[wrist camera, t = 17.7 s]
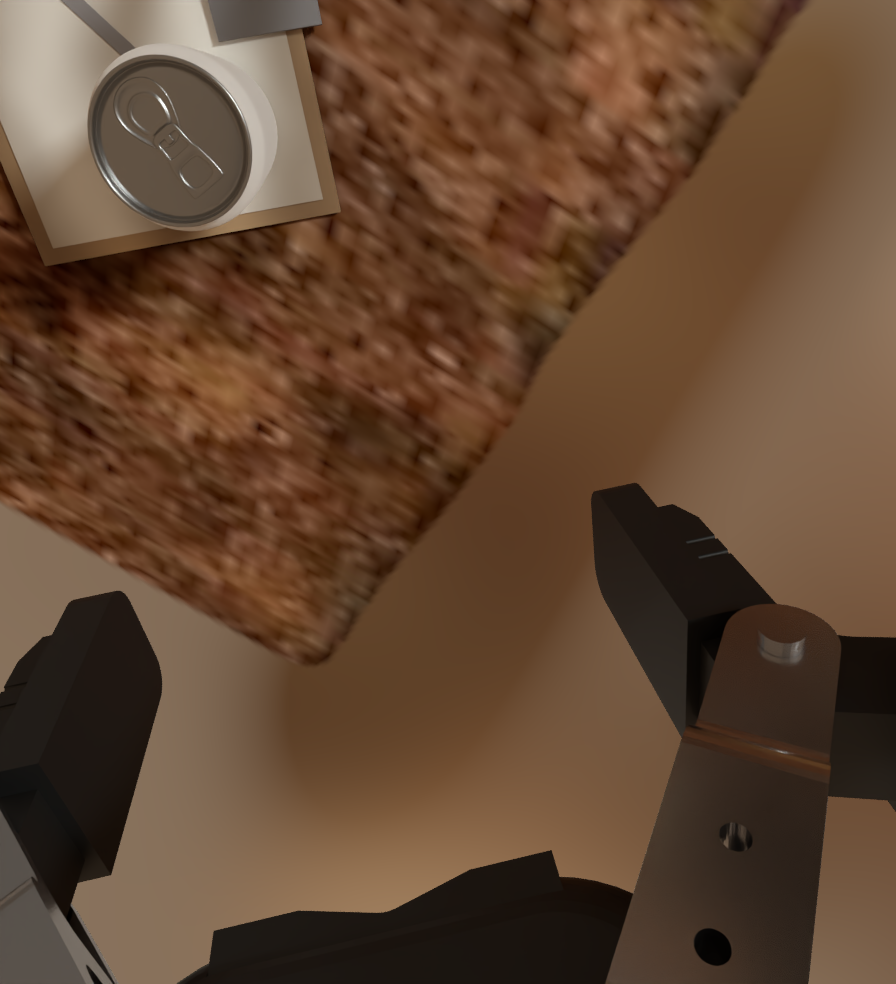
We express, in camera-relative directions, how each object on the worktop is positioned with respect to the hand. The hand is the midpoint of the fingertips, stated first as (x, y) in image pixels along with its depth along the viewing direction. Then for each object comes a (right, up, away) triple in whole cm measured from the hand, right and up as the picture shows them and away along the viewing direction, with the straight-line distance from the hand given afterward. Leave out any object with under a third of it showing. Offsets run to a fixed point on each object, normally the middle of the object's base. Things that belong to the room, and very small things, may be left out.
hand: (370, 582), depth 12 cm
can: (-11, +20, +24) cm, 33 cm away
